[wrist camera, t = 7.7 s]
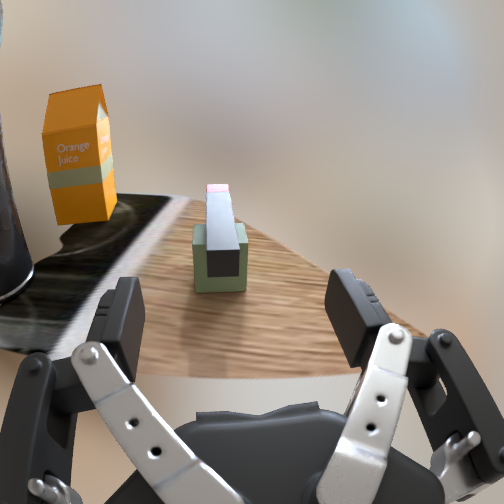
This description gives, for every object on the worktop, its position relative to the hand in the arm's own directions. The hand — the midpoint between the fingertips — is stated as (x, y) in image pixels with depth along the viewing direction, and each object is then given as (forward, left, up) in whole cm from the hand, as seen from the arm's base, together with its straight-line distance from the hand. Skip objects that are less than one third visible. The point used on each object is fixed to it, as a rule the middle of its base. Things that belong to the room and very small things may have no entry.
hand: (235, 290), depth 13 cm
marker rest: (+12, +11, -12) cm, 20 cm away
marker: (+12, +11, -5) cm, 17 cm away
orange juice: (+12, +39, -12) cm, 42 cm away
